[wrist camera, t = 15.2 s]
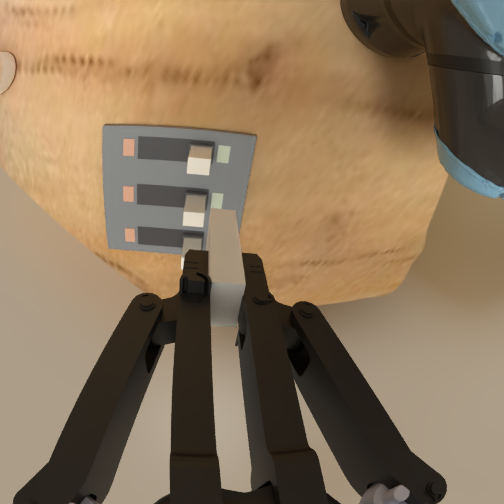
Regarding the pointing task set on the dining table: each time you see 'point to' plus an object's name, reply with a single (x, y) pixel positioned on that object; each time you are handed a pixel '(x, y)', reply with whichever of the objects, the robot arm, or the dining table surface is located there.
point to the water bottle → (6, 70)
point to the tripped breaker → (190, 244)
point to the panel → (168, 182)
